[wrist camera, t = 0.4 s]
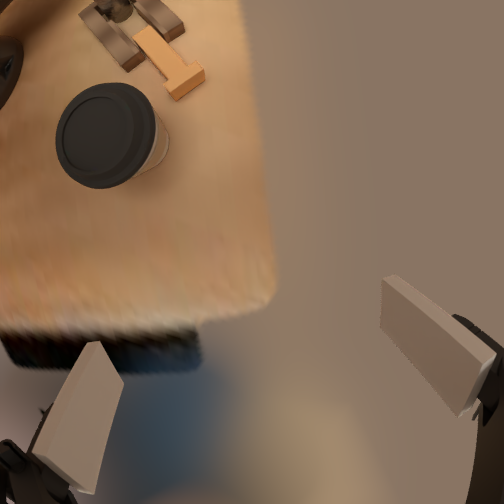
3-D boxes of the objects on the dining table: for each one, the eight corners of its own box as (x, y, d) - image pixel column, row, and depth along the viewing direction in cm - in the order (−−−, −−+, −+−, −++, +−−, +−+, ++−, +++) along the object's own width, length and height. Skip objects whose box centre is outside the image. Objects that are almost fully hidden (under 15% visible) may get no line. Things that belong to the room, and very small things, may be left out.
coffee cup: (133, 97, 28) (81, 60, 14) (192, 128, 31) (172, 102, 16) (97, 159, 30) (29, 162, 16) (154, 192, 32) (110, 213, 18)
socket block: (85, 22, 23) (77, 14, 20) (136, -15, 22) (131, -25, 19) (127, 72, 27) (120, 65, 24) (185, 31, 26) (182, 21, 23)
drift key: (132, 50, 26) (122, 37, 22) (160, 30, 25) (153, 15, 21) (175, 101, 29) (169, 92, 25) (205, 80, 29) (203, 68, 24)
